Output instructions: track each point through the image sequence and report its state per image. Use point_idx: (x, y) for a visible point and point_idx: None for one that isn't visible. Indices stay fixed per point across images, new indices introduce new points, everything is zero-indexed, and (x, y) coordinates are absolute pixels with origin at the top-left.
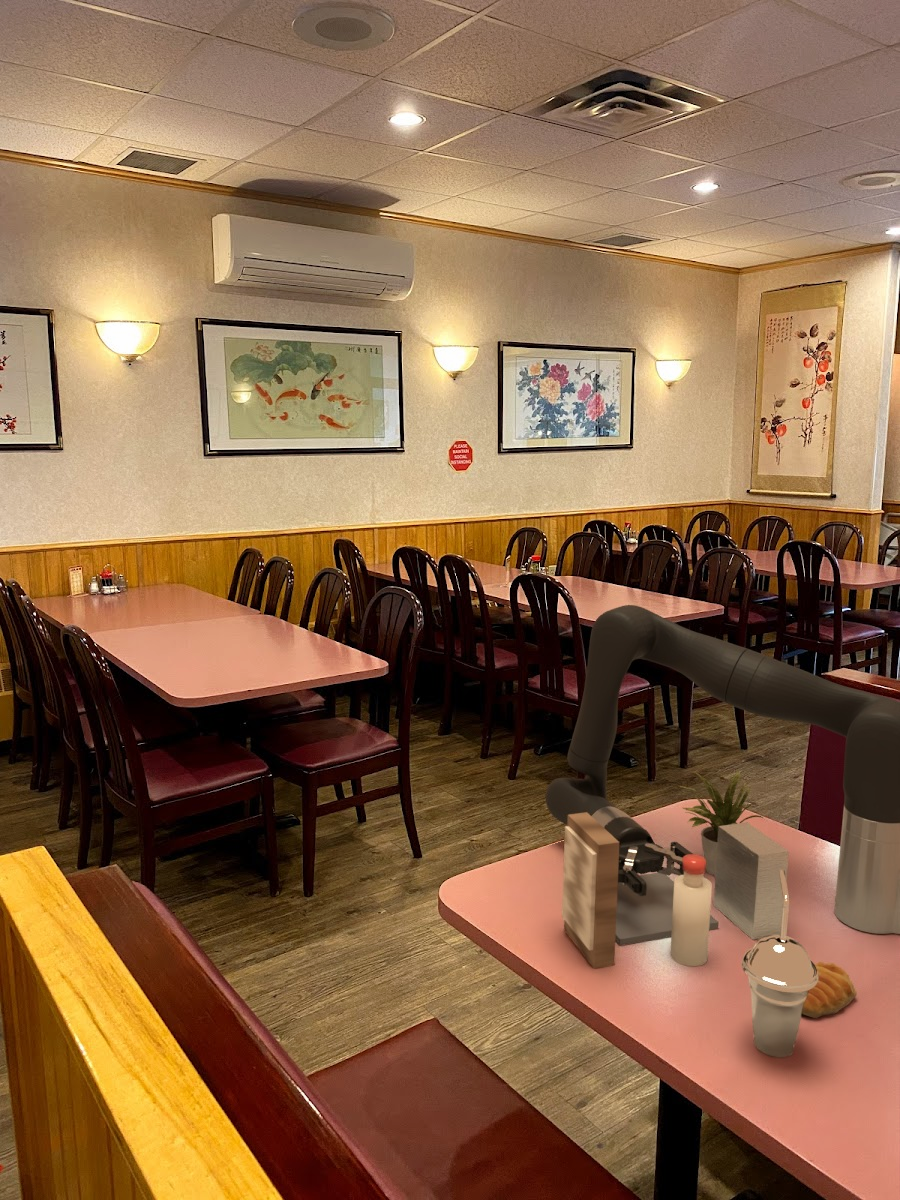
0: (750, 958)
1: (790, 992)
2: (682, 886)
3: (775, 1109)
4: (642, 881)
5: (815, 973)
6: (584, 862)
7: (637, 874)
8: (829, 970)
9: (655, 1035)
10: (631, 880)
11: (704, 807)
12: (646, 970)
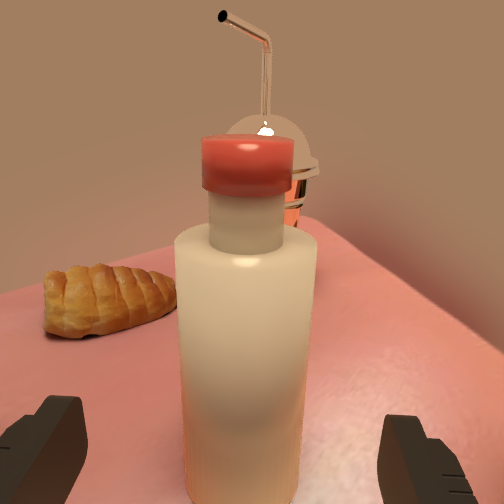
0: (307, 155)
1: None
2: (298, 240)
3: (324, 248)
4: (409, 419)
5: None
6: None
7: (421, 498)
8: (67, 279)
9: (432, 324)
10: (469, 488)
11: None
12: None
